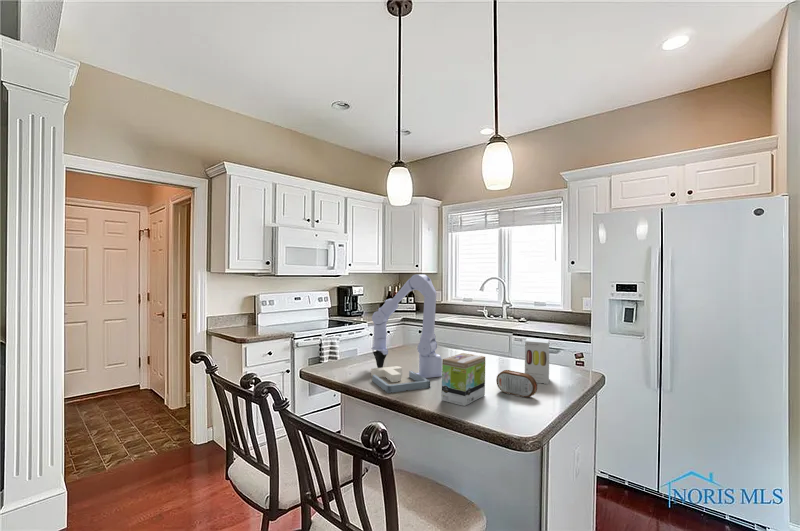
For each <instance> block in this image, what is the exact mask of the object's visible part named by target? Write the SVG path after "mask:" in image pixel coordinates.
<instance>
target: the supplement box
mask: <svg viewBox="0 0 800 531" xmlns="http://www.w3.org/2000/svg"><path fill="white" fill-rule="evenodd" d="M524 343H525V344H524V345H525V346H524V373H526V374H529V375H531V376H532V377H533V378H534V379H535V381H536V383H537V384H541V383H544V384H543V385H549V381H550V339H545V338H534V337H533V338H531V337H527V338H526V339H525V342H524Z"/></svg>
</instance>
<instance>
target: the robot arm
mask: <svg viewBox="0 0 800 531" xmlns="http://www.w3.org/2000/svg"><path fill="white" fill-rule="evenodd" d="M415 290H416V291H417V292H419V293H420V294H421V295H422V296H423V298H424V299H423V311H422V312H423V314H422V315H423V317H422V330H421V335H420V338H419V342H418V345H417V352H418V355H419V356H418V358H419V360H418V372H415V373H416V374H418V375H420V376H422V377H424V378H426V379H429V378H437V377H442V362H443V359H442V357H441V355H440V354H438V353H436V350H437V348H438V343H437V339H436V334H435V325H436V324H435V322H436V308H437V306H436V305H437V290H436V288H435V286H434V285H433V282H432V279H431V278H430V277H429V276H428V275H426V274H425V273H421V274H418V273H417V274H412V276H411V277H410V278H409V279H408V280H406V282H405V283H404V284H403V285H402V287H401V288H400V289H399V290H398V292H397V293H396V294H395V295H394V296H393V297H392V298H388V299H385V300H384V303H383V305H382V306H380V307H379V308H378V309H377V311H374V312H373V314H371V321H372V322H373V344H372V347H371V349H370V350H372V351H373V352H372V355H373V357H374V358H375V362H376V368H384V363H385V360H386V357H387V355H389V350H388V347H387V323H388V321H389V318H390V317H391V316H392V314H393V313H394V312H395V311H396V310H397V309H398V308H399V303H400V302H402V300H403V299H404V298H405V297H406V296H407V295H408V294H409V293H410V292H412V291H415ZM374 350H375V351H374Z"/></svg>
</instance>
